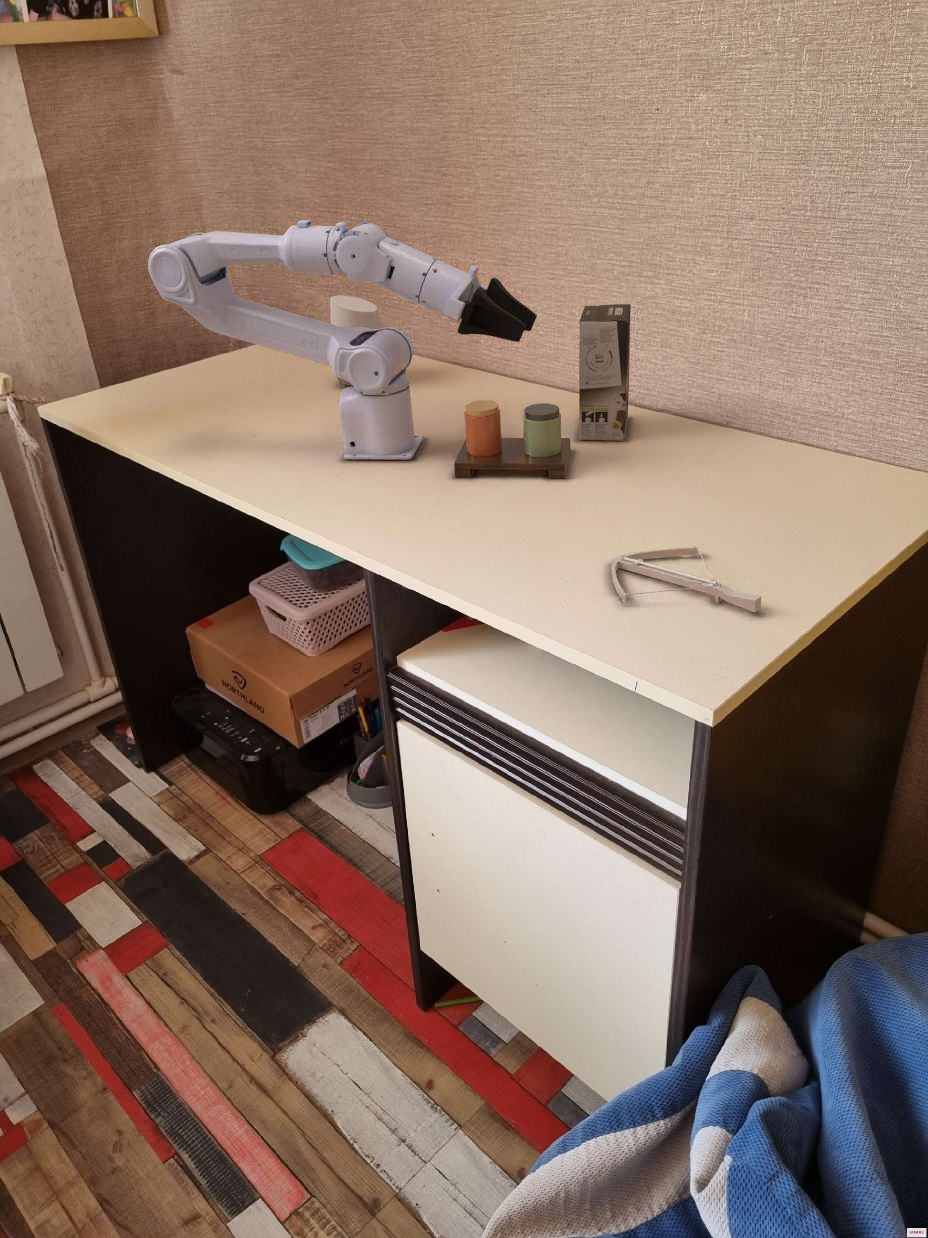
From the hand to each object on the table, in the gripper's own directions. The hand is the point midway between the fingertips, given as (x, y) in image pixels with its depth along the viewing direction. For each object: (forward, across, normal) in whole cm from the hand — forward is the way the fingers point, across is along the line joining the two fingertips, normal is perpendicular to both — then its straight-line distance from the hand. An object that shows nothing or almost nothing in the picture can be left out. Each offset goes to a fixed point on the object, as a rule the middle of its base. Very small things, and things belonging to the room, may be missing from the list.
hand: (528, 328), depth 117 cm
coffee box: (+14, +12, +11) cm, 22 cm away
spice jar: (+1, -2, +16) cm, 16 cm away
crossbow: (+27, -31, +10) cm, 43 cm away
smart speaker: (-25, +32, +27) cm, 48 cm away
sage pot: (+8, -1, +13) cm, 15 cm away
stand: (+5, -1, +16) cm, 17 cm away
